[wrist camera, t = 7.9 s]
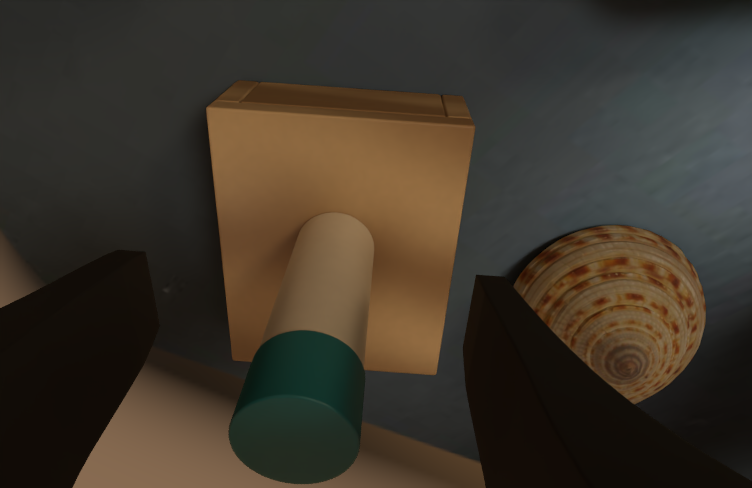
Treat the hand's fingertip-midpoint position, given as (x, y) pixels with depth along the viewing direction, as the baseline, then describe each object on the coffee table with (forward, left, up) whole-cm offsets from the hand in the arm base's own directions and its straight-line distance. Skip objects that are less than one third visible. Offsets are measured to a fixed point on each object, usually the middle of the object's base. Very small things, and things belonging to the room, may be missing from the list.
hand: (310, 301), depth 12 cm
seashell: (-7, -11, -10) cm, 16 cm away
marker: (-2, 0, -6) cm, 6 cm away
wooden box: (-3, 0, -9) cm, 10 cm away
